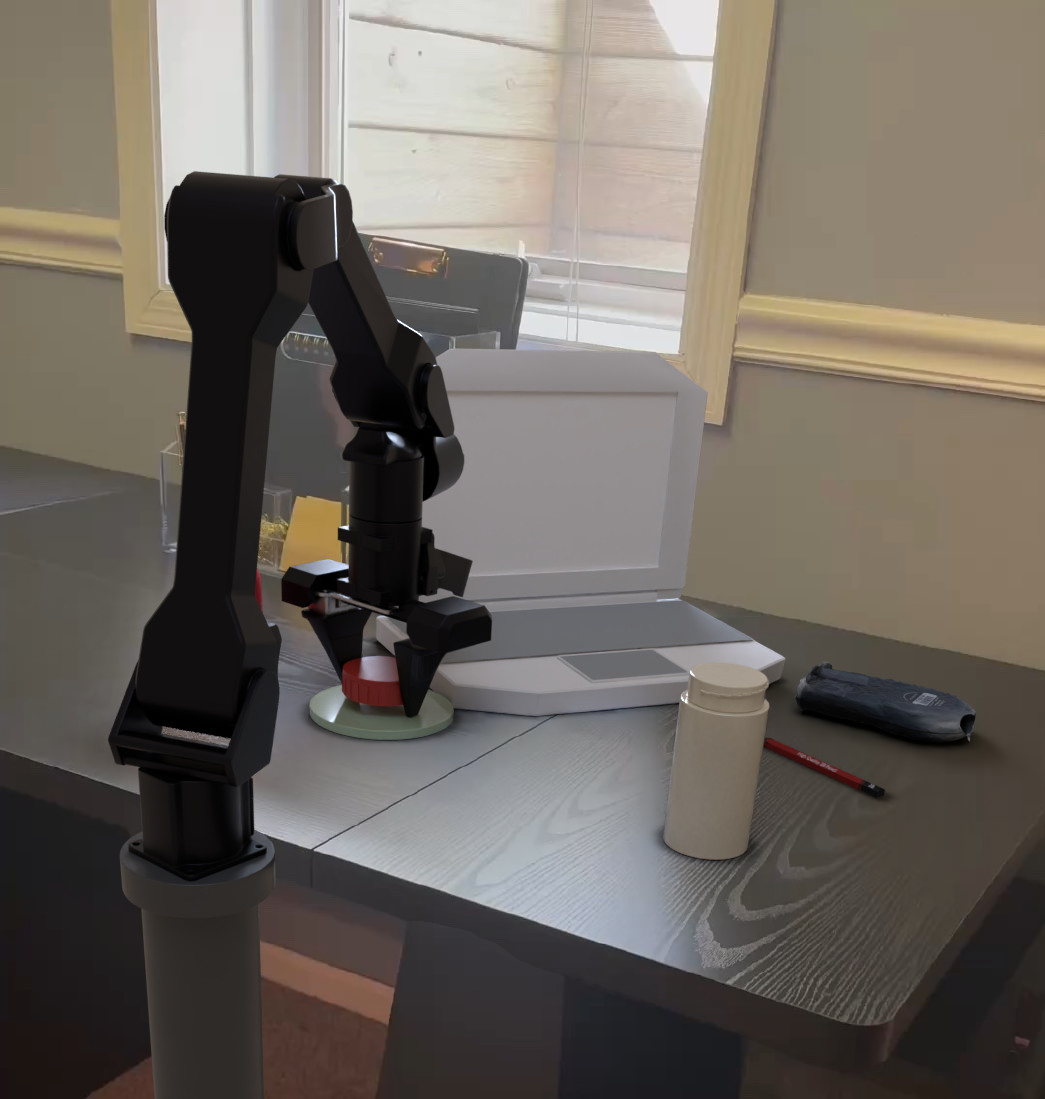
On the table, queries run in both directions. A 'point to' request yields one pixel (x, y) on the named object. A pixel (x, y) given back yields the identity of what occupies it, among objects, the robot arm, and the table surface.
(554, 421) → the laptop
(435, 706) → the saucer
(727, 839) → the bottle
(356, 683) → the lid
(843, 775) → the pencil
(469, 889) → the table surface
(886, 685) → the electronic device
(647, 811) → the table surface
